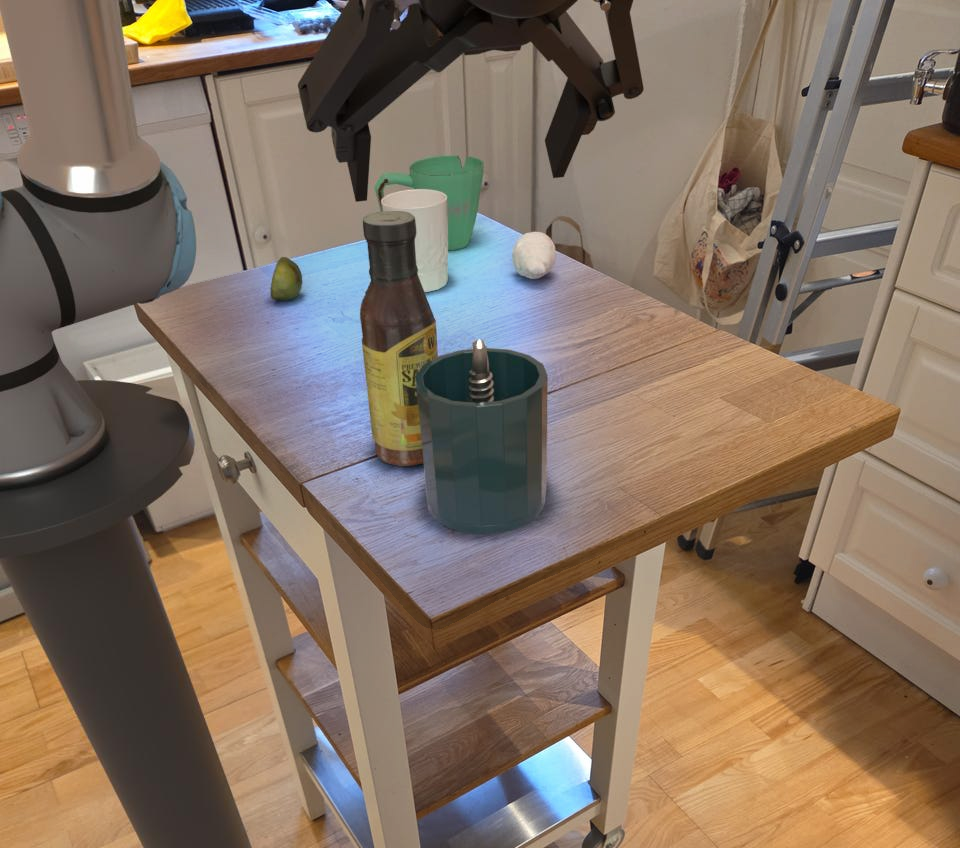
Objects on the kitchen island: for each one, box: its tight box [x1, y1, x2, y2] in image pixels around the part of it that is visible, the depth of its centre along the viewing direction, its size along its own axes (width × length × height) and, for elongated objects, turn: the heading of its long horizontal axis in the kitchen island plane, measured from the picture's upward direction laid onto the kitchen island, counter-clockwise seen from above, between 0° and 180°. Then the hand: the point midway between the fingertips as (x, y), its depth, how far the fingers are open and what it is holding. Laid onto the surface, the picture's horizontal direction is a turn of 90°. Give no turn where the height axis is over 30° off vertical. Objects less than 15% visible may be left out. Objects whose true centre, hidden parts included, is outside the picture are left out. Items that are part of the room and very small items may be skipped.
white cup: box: [381, 188, 449, 293], centre depth 108 cm, size 8×8×10 cm
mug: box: [373, 154, 485, 251], centre depth 118 cm, size 15×10×10 cm
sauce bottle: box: [359, 211, 439, 467], centre depth 73 cm, size 6×6×20 cm
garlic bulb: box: [511, 231, 557, 280], centre depth 108 cm, size 6×6×5 cm
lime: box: [269, 256, 303, 302], centre depth 107 cm, size 4×5×5 cm
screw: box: [469, 338, 494, 403], centre depth 68 cm, size 13×5×5 cm
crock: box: [415, 347, 549, 535], centre depth 69 cm, size 10×10×11 cm
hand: (457, 170), depth 59 cm, fingers open, 13 cm apart
